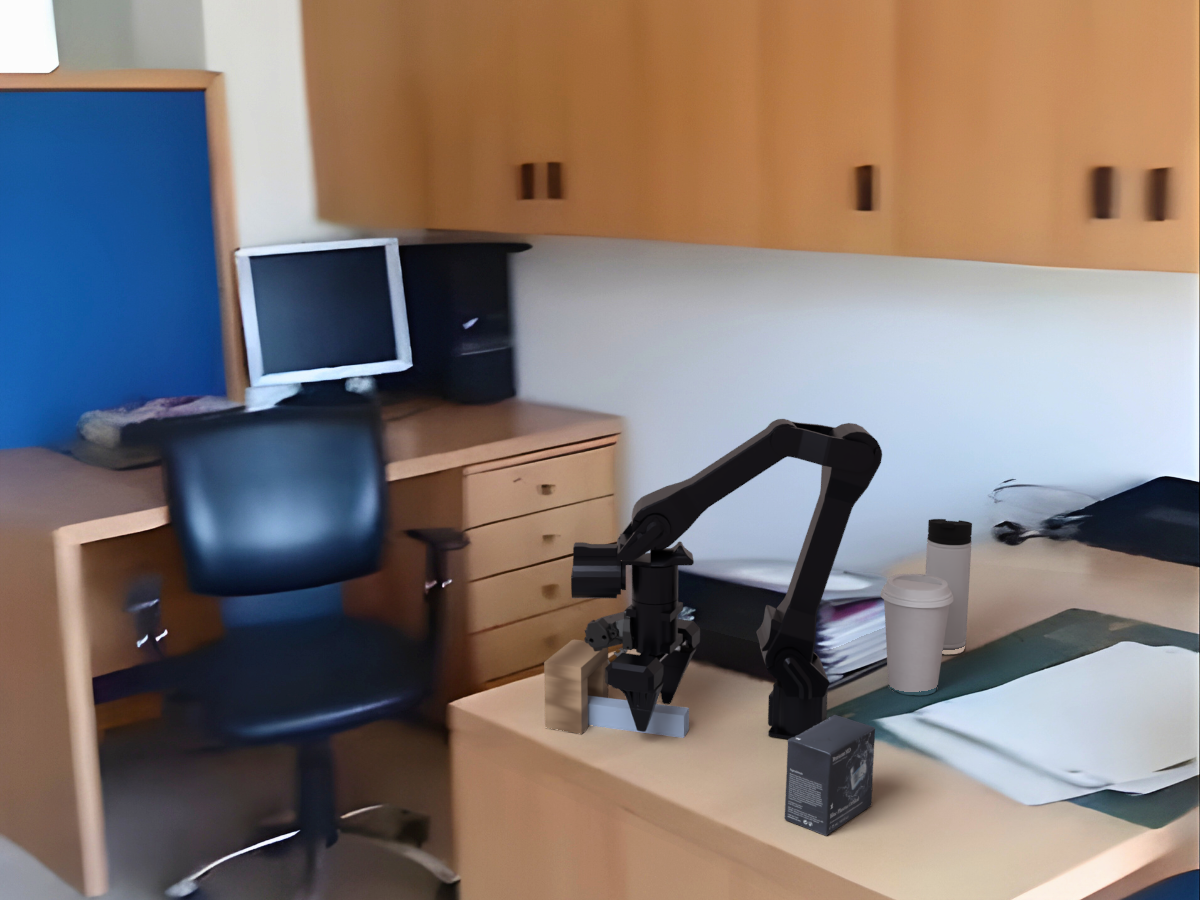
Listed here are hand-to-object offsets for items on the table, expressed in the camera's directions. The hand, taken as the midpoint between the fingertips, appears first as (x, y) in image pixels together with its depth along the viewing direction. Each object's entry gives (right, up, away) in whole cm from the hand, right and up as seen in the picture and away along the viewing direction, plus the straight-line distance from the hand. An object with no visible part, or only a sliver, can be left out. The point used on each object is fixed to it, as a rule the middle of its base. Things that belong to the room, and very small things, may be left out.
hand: (654, 716), depth 156 cm
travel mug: (+44, +4, +29) cm, 53 cm away
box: (+18, -6, -21) cm, 28 cm away
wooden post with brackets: (-6, +1, +17) cm, 18 cm away
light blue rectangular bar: (-4, -2, +2) cm, 5 cm away
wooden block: (-10, -1, +4) cm, 11 cm away
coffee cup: (+36, +1, +14) cm, 39 cm away
